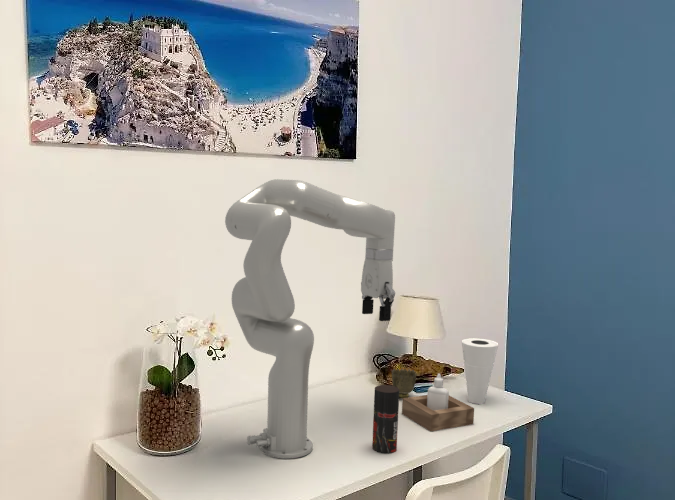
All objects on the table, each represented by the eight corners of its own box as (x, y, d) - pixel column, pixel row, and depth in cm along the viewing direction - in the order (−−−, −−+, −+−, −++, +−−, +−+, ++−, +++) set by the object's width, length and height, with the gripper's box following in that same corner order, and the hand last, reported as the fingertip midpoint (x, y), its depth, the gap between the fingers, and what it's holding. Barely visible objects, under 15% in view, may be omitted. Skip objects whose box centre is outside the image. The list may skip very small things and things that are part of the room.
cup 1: (416, 402, 198) (417, 375, 197) (391, 401, 198) (392, 374, 197) (413, 393, 205) (415, 368, 204) (389, 393, 205) (391, 367, 204)
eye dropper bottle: (437, 421, 180) (440, 377, 179) (424, 414, 185) (426, 372, 184) (449, 418, 183) (452, 375, 182) (435, 412, 187) (437, 370, 186)
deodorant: (393, 455, 159) (396, 393, 158) (369, 451, 161) (372, 390, 159) (398, 445, 165) (401, 386, 163) (375, 442, 166) (377, 383, 165)
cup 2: (467, 393, 208) (470, 336, 206) (500, 400, 202) (503, 342, 200) (452, 401, 199) (455, 342, 197) (485, 410, 193) (489, 349, 191)
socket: (430, 431, 175) (431, 414, 174) (401, 413, 187) (402, 398, 187) (473, 424, 181) (474, 408, 181) (442, 407, 194) (443, 392, 193)
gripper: (352, 251, 188) (349, 311, 190) (382, 258, 172) (379, 324, 174) (375, 251, 191) (372, 310, 193) (407, 258, 176) (403, 323, 177)
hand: (375, 317), depth 183 cm, fingers open, 9 cm apart
